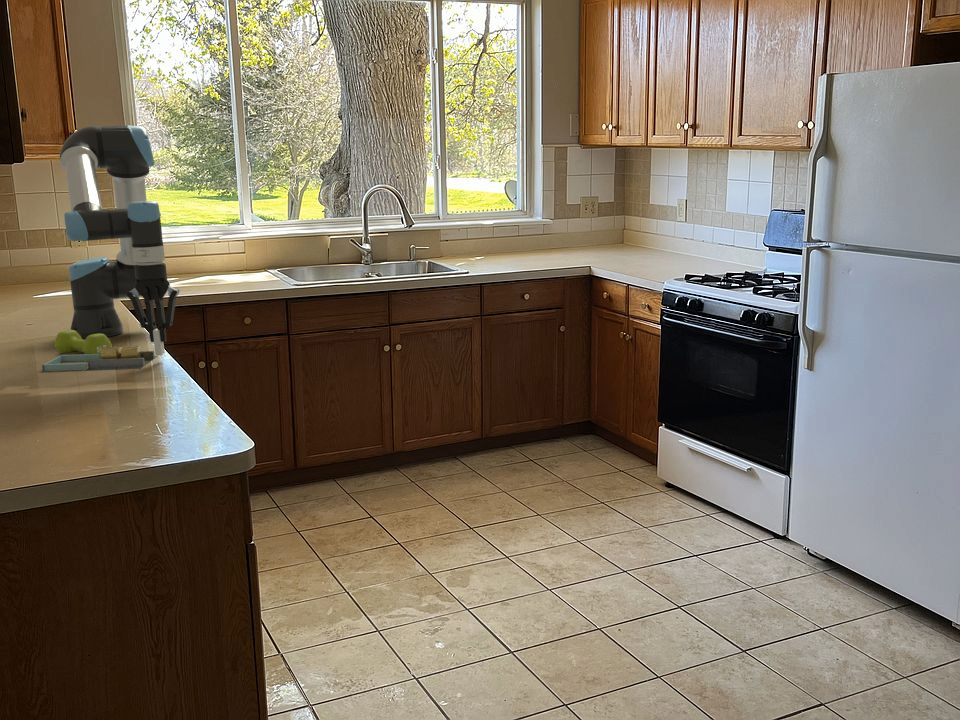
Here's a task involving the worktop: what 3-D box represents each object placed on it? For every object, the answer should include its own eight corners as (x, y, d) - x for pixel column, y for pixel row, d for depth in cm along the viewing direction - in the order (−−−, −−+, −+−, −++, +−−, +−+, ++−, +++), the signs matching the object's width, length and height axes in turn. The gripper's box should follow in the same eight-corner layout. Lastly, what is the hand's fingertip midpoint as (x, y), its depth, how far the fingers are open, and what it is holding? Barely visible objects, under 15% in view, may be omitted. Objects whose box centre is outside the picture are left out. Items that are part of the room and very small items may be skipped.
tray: (62, 366, 245) (60, 355, 244) (103, 364, 245) (102, 353, 244) (43, 376, 234) (41, 365, 233) (87, 375, 234) (85, 363, 233)
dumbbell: (53, 358, 256) (49, 332, 254) (79, 352, 262) (75, 327, 261) (90, 364, 247) (86, 337, 246) (115, 357, 254) (112, 332, 252)
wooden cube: (125, 361, 241) (123, 346, 240) (141, 360, 242) (139, 345, 241) (122, 365, 237) (120, 349, 236) (138, 364, 238) (137, 348, 237)
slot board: (105, 363, 246) (104, 350, 245) (158, 361, 246) (157, 348, 246) (85, 376, 233) (83, 362, 232) (141, 374, 233) (139, 360, 232)
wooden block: (107, 362, 241) (105, 347, 240) (123, 361, 241) (121, 346, 240) (101, 365, 237) (99, 350, 236) (117, 365, 237) (115, 349, 236)
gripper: (118, 265, 230) (129, 358, 235) (171, 263, 230) (181, 356, 235) (129, 262, 237) (139, 352, 242) (179, 260, 237) (189, 350, 243)
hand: (160, 354), depth 239 cm, fingers closed
